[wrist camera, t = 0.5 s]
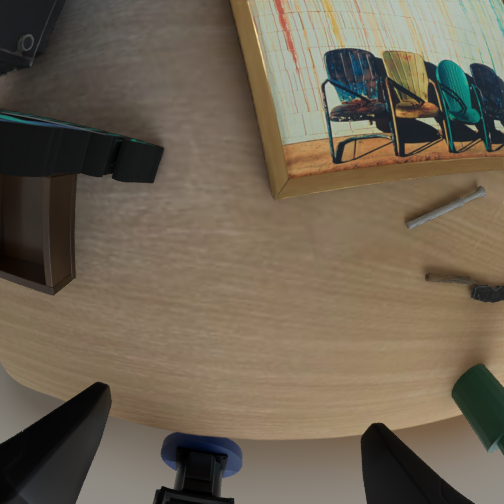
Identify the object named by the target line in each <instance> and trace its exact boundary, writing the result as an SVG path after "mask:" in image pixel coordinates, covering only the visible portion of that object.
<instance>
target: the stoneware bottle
mask: <svg viewBox="0 0 504 504" xmlns="http://www.w3.org/2000/svg"><path fill="white" fill-rule="evenodd" d="M452 397H453V399H454V401H455V403H456V404H457V405H458V407H459V408H460V410H461V411H462V413H463V414H464V416H465V417H466V419H467V420H468V421H469V423H470V425H471V427H472V428H473V430H474V431H475V433H476V434H477V436H478V437H479V439H480V441H481V442H482V444H483V445H484V447H485V448H486V450H487V452H488V453H492V452H494V451H495V450H497V449H500V450H501V451H502V453H503V455H504V387H503V386H502V385H501V384H500V383H499V381H498V380H497V379H496V378H495V377H494V376H493V374H492V373H491V372H490V371H489V370H488V369H487V368H486V367H485V366H484V365H482V364H480V365H476V366H474V367H472V368H471V369H469V370H468V371H467V372H466V373H465V374H464V375H463V376H462V377H461V378H460V379H459V380H458V381H457V383H456V384H455V386H454V388H453V391H452Z"/></svg>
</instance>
